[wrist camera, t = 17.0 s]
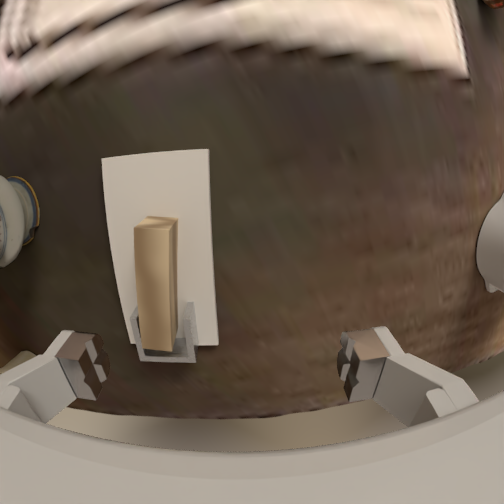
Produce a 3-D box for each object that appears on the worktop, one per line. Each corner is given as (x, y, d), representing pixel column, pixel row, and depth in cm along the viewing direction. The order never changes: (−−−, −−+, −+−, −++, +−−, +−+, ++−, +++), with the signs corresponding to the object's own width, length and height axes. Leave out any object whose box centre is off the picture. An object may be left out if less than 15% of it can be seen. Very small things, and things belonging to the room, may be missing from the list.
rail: (178, 217, 31) (169, 230, 27) (178, 327, 36) (171, 351, 31) (147, 216, 31) (133, 228, 26) (151, 324, 36) (142, 348, 31)
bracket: (209, 148, 31) (204, 148, 25) (218, 338, 39) (217, 364, 33) (106, 157, 30) (85, 160, 25) (133, 337, 38) (122, 362, 33)
